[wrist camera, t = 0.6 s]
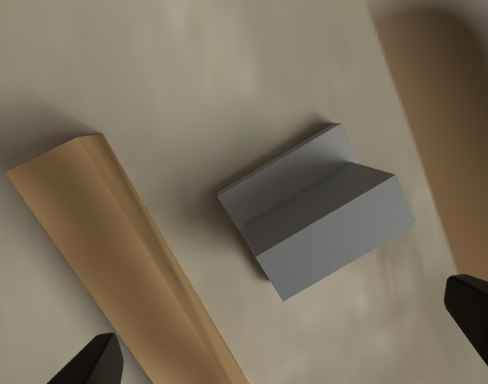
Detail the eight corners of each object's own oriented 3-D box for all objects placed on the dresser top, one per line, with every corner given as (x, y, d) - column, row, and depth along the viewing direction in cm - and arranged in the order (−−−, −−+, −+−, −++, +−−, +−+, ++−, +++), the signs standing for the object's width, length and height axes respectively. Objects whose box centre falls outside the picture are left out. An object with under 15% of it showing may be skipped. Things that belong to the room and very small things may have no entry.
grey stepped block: (272, 281, 22) (296, 339, 16) (216, 192, 20) (220, 221, 14) (378, 220, 22) (440, 256, 16) (333, 123, 20) (385, 124, 14)
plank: (205, 403, 24) (205, 457, 20) (46, 161, 19) (4, 172, 15) (249, 382, 24) (257, 431, 20) (104, 133, 19) (77, 137, 15)
